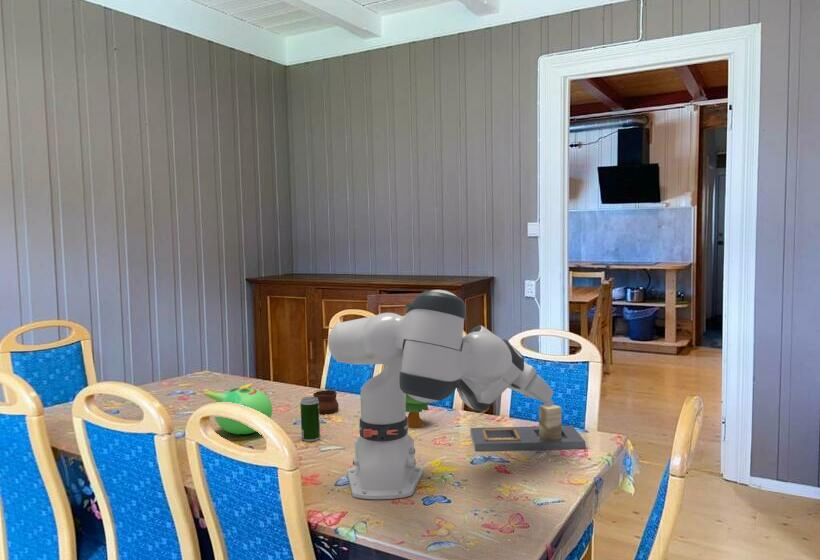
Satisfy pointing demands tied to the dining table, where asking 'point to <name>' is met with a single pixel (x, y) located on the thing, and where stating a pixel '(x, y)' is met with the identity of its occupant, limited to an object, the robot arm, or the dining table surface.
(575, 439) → the grey flat plate
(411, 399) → the decorative tree
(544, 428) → the wooden peg
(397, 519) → the dining table surface
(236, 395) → the green teapot
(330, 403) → the ceramic pot
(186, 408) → the dining table surface
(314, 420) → the beer can
